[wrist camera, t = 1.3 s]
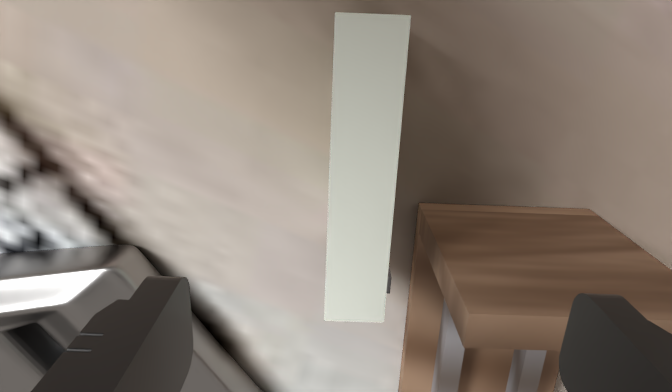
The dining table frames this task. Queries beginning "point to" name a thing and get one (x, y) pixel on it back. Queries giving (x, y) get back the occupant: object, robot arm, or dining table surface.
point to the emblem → (85, 314)
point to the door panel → (363, 161)
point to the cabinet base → (512, 293)
